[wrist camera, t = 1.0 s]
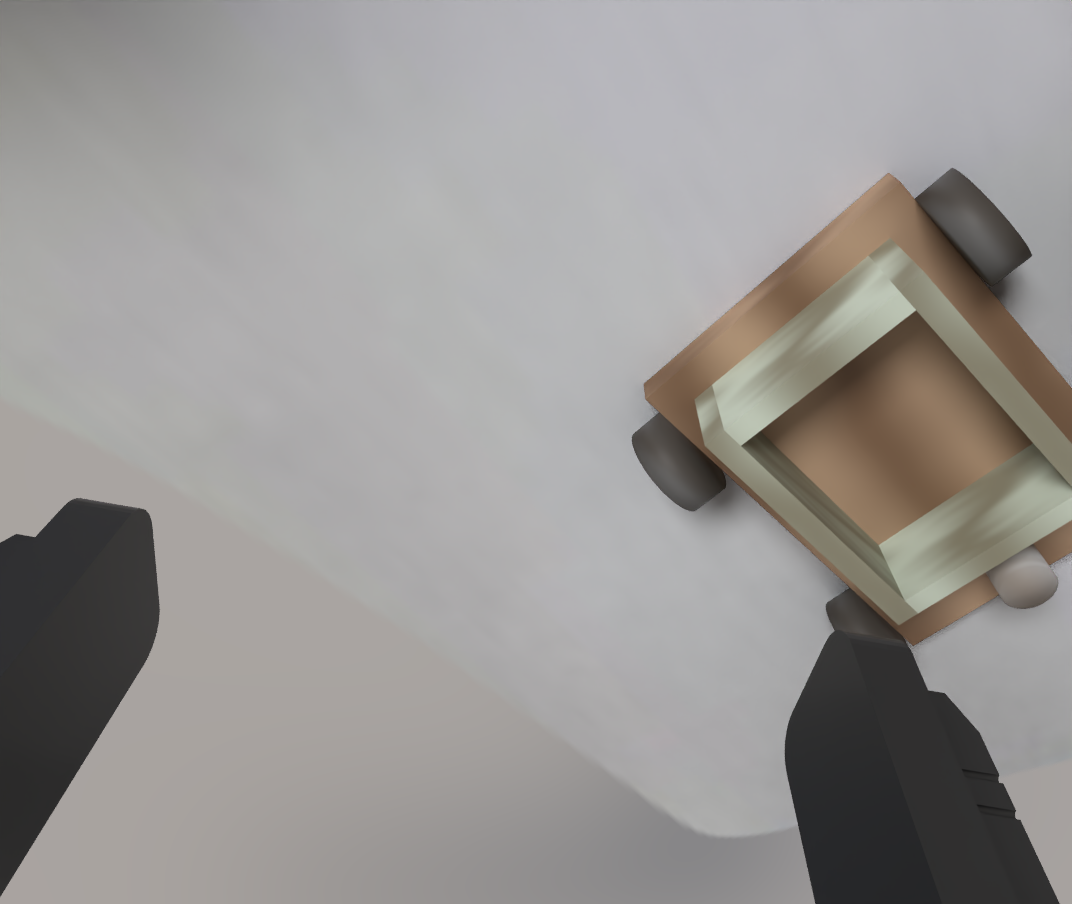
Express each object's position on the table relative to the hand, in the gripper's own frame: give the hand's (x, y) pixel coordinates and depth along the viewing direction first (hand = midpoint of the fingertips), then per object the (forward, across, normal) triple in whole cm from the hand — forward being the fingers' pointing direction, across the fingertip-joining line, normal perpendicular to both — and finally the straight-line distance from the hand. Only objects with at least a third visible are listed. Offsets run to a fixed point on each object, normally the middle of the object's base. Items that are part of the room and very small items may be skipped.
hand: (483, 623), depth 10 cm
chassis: (+28, -17, +10) cm, 34 cm away
